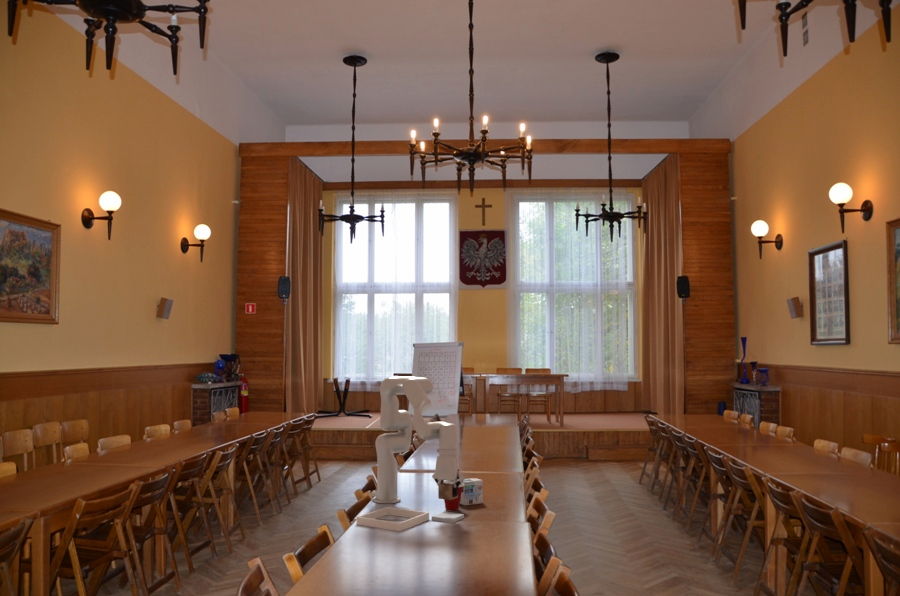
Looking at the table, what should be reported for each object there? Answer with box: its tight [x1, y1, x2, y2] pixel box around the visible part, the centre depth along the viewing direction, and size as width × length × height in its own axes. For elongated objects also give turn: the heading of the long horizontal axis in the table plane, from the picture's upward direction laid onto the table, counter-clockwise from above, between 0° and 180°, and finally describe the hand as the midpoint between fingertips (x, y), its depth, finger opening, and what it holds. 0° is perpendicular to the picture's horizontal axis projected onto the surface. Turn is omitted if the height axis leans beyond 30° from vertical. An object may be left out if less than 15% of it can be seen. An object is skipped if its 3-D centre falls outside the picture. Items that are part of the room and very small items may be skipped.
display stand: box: [431, 511, 465, 524], centre depth 299 cm, size 10×10×2 cm
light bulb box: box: [457, 477, 484, 506], centre depth 330 cm, size 11×7×11 cm, turn 122°
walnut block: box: [437, 482, 458, 500], centre depth 299 cm, size 6×6×6 cm
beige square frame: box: [356, 506, 430, 532], centre depth 293 cm, size 22×22×3 cm
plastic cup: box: [443, 480, 465, 512], centre depth 316 cm, size 11×11×12 cm
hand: (448, 495), depth 299 cm, fingers closed on walnut block, 6 cm apart
